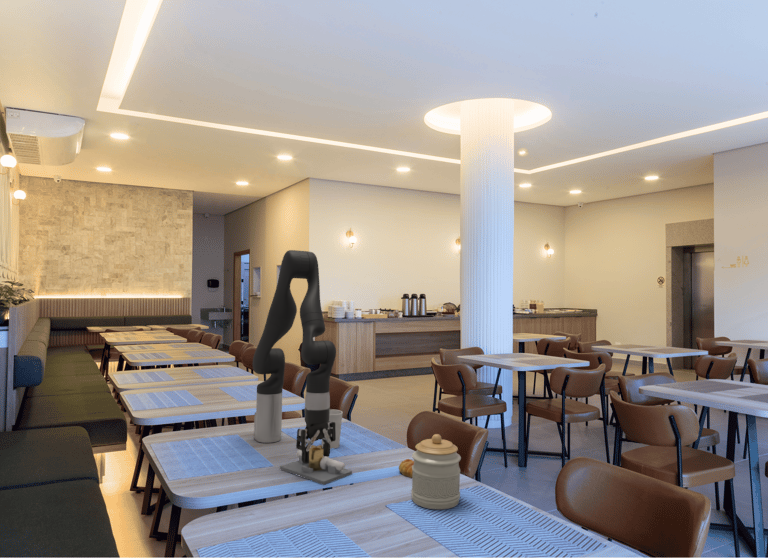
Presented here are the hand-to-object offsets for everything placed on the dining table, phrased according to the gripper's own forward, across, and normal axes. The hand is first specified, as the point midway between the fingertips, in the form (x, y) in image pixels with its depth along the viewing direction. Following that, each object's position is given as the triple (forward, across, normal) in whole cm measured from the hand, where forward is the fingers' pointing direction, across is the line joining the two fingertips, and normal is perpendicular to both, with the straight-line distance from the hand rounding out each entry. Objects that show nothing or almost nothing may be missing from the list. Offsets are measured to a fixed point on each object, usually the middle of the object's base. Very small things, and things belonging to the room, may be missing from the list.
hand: (316, 459), depth 163 cm
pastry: (+4, -19, +23) cm, 30 cm away
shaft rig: (+4, 0, 0) cm, 4 cm away
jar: (+4, -6, +39) cm, 40 cm away
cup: (+4, -22, -16) cm, 27 cm away
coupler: (+3, 0, 0) cm, 3 cm away
